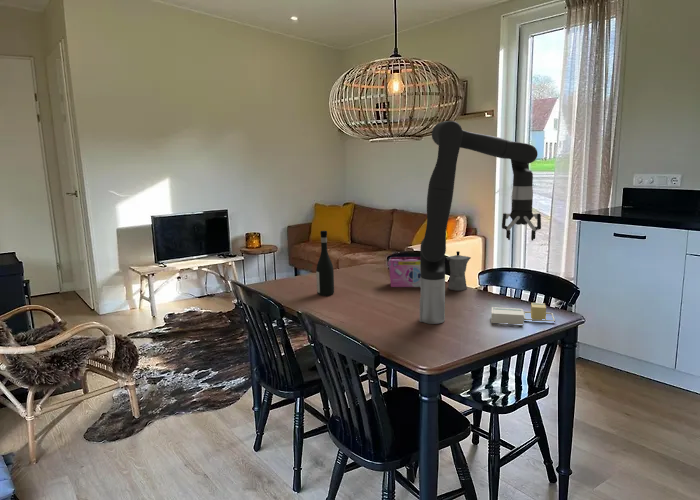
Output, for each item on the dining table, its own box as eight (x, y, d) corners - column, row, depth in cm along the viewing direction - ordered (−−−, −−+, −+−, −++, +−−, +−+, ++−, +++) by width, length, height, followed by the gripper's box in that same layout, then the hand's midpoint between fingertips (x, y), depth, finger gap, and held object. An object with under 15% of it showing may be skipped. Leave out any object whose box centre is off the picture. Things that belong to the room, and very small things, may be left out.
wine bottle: (314, 296, 236) (312, 232, 231) (320, 291, 244) (317, 229, 238) (331, 297, 234) (329, 232, 229) (336, 292, 242) (334, 229, 236)
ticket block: (491, 325, 191) (491, 314, 190) (491, 316, 201) (491, 306, 200) (523, 327, 188) (524, 316, 187) (522, 318, 198) (522, 308, 197)
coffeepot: (465, 284, 250) (466, 248, 247) (474, 289, 241) (475, 252, 238) (436, 287, 247) (436, 250, 243) (444, 292, 238) (445, 254, 234)
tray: (524, 321, 194) (524, 318, 194) (522, 313, 204) (522, 311, 203) (555, 323, 191) (555, 320, 191) (552, 315, 201) (552, 312, 200)
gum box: (387, 287, 249) (387, 260, 247) (387, 283, 257) (387, 256, 254) (437, 287, 247) (437, 259, 245) (435, 283, 255) (436, 256, 253)
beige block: (531, 319, 195) (532, 306, 194) (530, 314, 201) (531, 302, 200) (545, 320, 194) (546, 307, 193) (544, 315, 200) (544, 303, 199)
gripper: (502, 198, 193) (501, 241, 196) (543, 198, 189) (541, 242, 192) (502, 197, 200) (501, 238, 203) (541, 197, 196) (539, 238, 199)
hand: (520, 240), depth 197 cm, fingers open, 8 cm apart
